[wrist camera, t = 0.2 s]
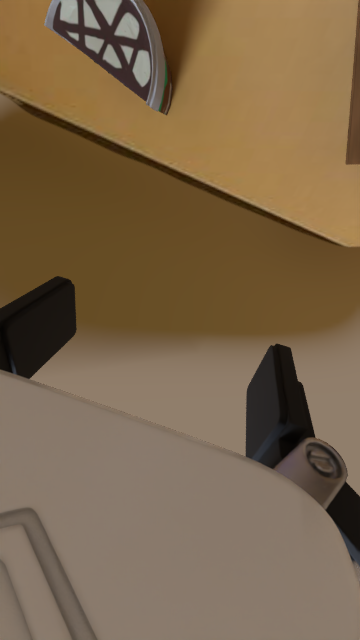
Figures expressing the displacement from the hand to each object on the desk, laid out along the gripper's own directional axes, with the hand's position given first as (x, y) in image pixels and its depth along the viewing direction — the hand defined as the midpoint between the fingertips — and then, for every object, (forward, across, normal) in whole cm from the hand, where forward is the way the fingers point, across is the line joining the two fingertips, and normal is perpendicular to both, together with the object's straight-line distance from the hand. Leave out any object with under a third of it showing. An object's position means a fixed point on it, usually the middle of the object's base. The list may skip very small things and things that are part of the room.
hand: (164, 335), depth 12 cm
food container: (+31, +14, -15) cm, 37 cm away
